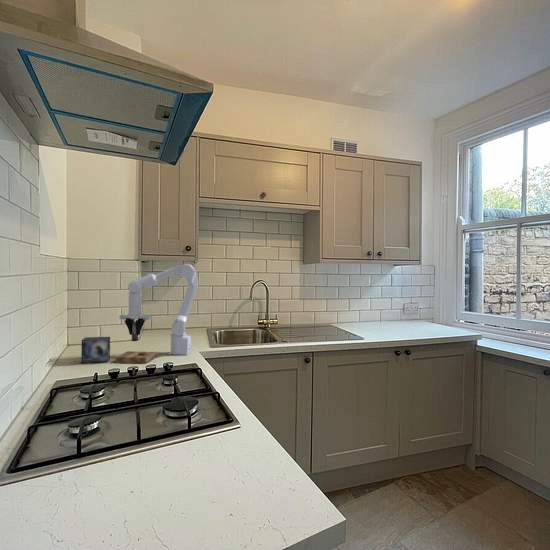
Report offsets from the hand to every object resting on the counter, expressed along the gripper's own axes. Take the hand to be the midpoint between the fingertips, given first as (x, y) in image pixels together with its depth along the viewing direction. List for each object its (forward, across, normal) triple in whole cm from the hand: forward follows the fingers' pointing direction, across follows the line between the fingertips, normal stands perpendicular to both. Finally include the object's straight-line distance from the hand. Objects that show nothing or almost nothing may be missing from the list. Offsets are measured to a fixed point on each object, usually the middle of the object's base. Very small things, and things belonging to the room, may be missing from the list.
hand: (134, 334), depth 165 cm
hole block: (+10, +5, -8) cm, 14 cm away
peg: (+3, 0, 0) cm, 3 cm away
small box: (+10, -11, -14) cm, 20 cm away
